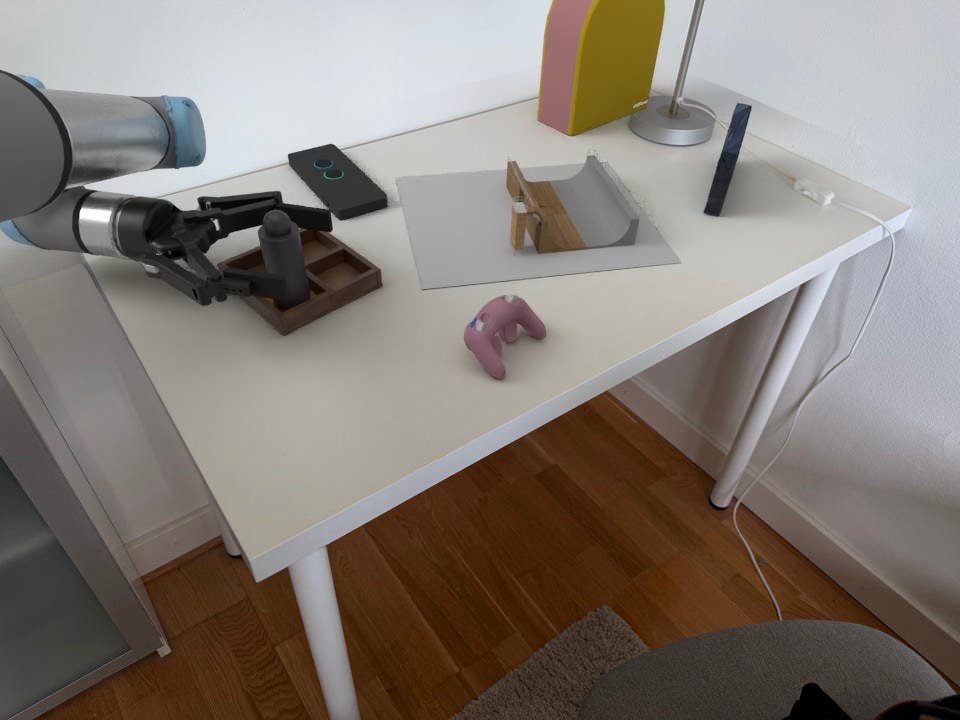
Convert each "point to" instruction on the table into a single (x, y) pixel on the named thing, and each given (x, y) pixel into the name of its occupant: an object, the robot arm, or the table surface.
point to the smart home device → (337, 181)
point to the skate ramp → (526, 224)
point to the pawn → (284, 257)
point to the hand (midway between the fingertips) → (309, 252)
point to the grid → (314, 279)
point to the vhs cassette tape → (728, 159)
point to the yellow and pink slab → (597, 61)
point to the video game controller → (500, 330)
